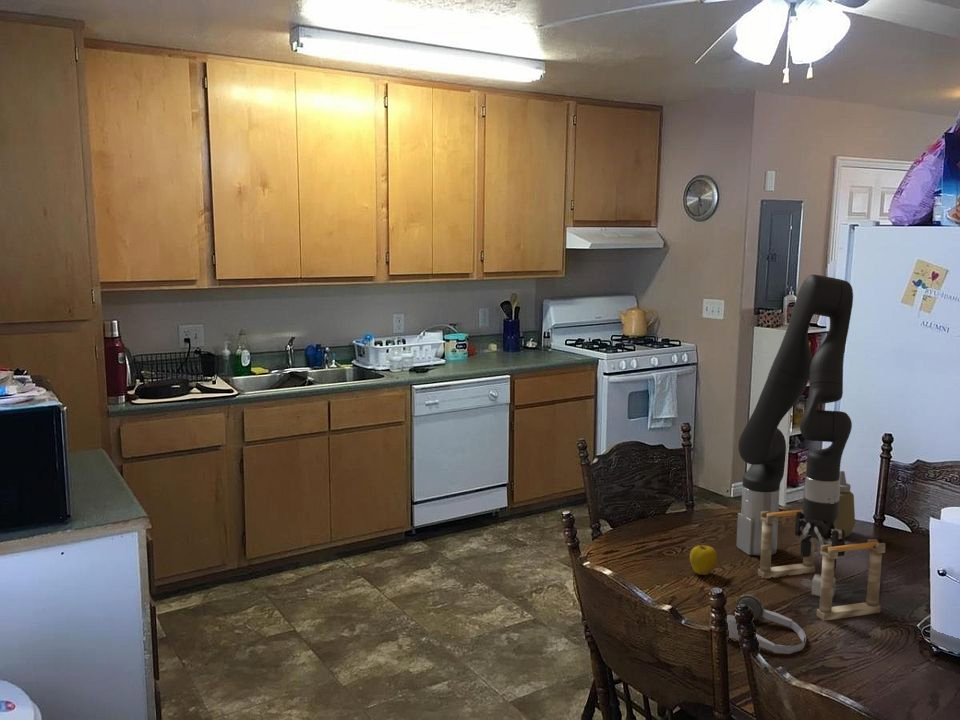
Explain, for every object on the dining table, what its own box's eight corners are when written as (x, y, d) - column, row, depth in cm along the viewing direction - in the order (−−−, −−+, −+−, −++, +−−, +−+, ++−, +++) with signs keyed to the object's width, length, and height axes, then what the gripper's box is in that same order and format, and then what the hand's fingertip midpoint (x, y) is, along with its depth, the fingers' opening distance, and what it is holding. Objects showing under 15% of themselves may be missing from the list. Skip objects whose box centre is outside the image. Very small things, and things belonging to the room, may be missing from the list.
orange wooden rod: (769, 519, 189) (769, 514, 189) (766, 517, 190) (766, 512, 190) (814, 514, 192) (814, 509, 192) (811, 512, 193) (811, 507, 193)
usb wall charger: (831, 600, 179) (832, 583, 178) (799, 593, 183) (800, 576, 182) (834, 593, 182) (835, 577, 182) (803, 586, 186) (803, 570, 186)
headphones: (694, 629, 164) (791, 673, 153) (699, 604, 163) (798, 647, 152) (722, 598, 178) (814, 637, 167) (728, 575, 177) (820, 613, 166)
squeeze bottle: (859, 539, 215) (863, 475, 212) (829, 539, 215) (833, 475, 212) (846, 528, 223) (850, 467, 220) (817, 528, 223) (821, 467, 220)
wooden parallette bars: (824, 621, 169) (829, 550, 167) (757, 574, 193) (759, 511, 191) (881, 613, 173) (886, 543, 170) (807, 567, 196) (811, 506, 194)
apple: (684, 574, 193) (685, 543, 192) (697, 566, 198) (698, 536, 197) (708, 582, 189) (709, 550, 188) (720, 573, 193) (722, 543, 192)
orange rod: (830, 553, 168) (831, 548, 168) (827, 551, 169) (827, 546, 169) (880, 547, 171) (880, 542, 171) (876, 545, 172) (876, 540, 172)
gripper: (787, 488, 185) (784, 553, 188) (828, 507, 172) (824, 578, 174) (815, 485, 187) (811, 550, 189) (857, 504, 173) (852, 574, 176)
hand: (817, 563), depth 182 cm, fingers open, 8 cm apart
